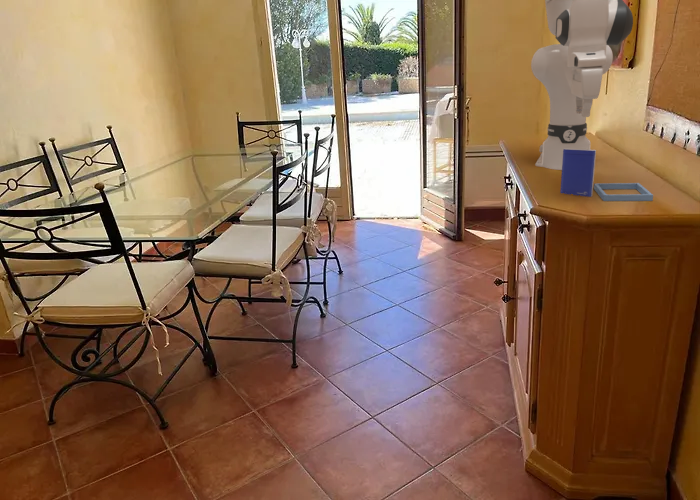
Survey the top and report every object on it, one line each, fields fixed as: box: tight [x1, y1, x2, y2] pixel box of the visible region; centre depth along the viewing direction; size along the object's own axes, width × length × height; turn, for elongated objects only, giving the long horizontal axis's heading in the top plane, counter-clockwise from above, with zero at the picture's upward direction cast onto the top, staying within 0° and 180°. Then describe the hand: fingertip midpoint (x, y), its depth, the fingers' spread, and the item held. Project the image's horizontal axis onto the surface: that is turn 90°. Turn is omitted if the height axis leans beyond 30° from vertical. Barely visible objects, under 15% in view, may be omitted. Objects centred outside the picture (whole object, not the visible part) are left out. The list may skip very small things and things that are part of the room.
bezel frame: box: [593, 182, 654, 202], centre depth 146 cm, size 14×12×2 cm
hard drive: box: [560, 149, 597, 198], centre depth 147 cm, size 2×8×12 cm, turn 52°
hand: (582, 115), depth 142 cm, fingers open, 8 cm apart
